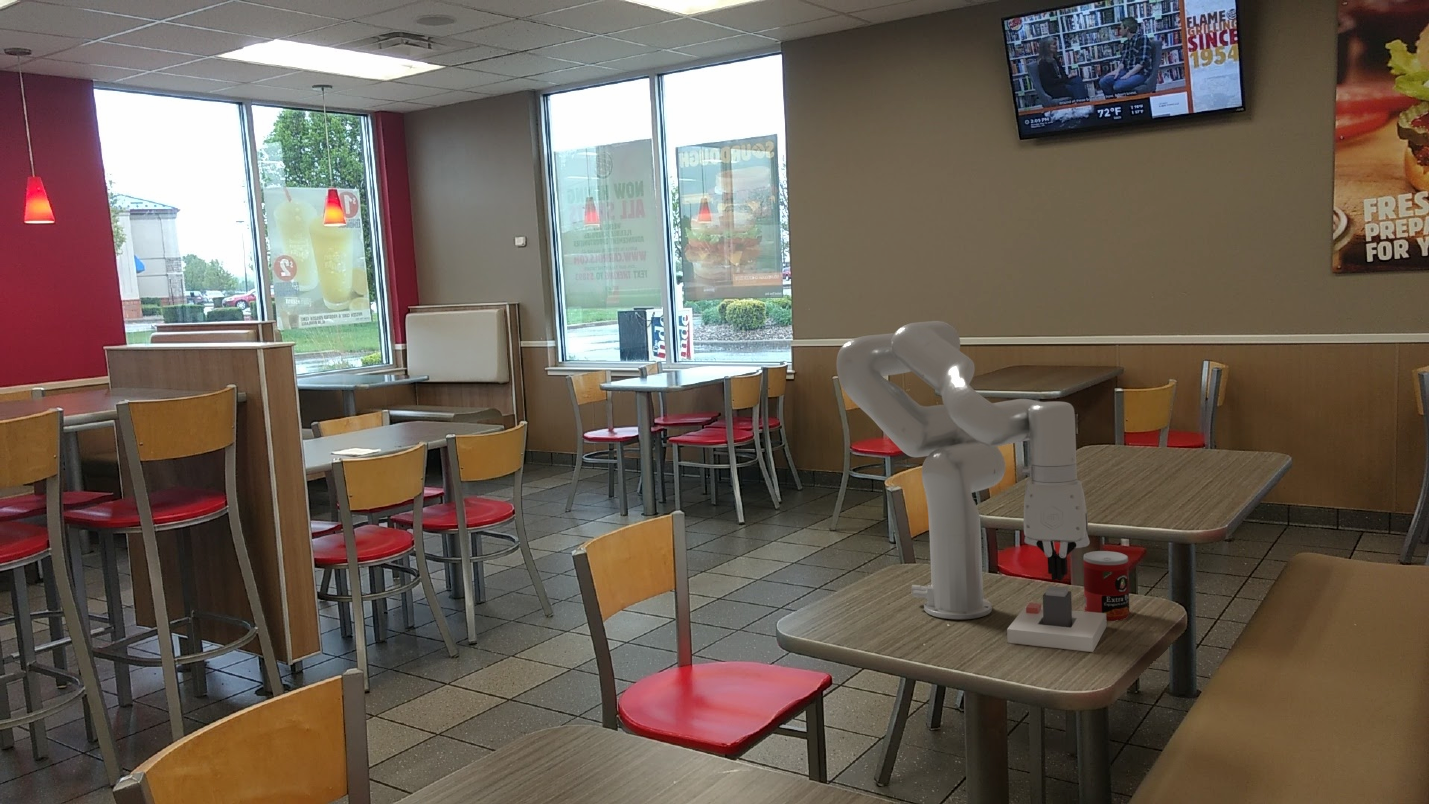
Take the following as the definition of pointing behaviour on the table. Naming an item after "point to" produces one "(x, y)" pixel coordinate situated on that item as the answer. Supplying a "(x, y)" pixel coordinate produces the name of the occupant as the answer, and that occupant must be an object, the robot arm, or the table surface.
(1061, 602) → the plug
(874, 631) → the table surface
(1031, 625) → the socket plate
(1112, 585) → the canned food
